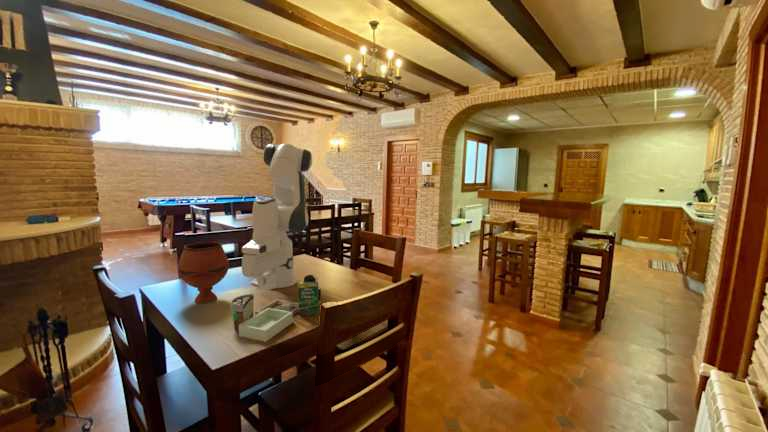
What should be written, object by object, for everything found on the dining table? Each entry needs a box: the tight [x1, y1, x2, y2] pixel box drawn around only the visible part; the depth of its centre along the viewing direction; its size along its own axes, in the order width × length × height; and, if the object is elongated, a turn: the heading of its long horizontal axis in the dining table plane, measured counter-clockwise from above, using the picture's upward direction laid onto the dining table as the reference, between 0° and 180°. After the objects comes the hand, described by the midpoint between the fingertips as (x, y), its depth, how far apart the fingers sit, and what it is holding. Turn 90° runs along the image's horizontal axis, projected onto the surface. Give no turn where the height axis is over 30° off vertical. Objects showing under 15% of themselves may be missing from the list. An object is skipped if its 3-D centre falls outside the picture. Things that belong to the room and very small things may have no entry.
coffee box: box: [297, 281, 320, 316], centre depth 126 cm, size 8×3×13 cm, turn 94°
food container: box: [229, 293, 255, 332], centre depth 115 cm, size 12×6×10 cm, turn 5°
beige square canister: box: [303, 274, 322, 305], centre depth 139 cm, size 7×7×12 cm
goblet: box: [177, 241, 230, 305], centre depth 137 cm, size 19×19×25 cm
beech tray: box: [254, 299, 299, 316], centre depth 129 cm, size 14×14×2 cm
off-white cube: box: [258, 272, 276, 291], centre depth 112 cm, size 4×4×5 cm
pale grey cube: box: [280, 303, 293, 312], centre depth 128 cm, size 4×4×4 cm
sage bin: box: [238, 307, 294, 343], centre depth 113 cm, size 11×16×4 cm
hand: (267, 282), depth 112 cm, fingers closed on off-white cube, 4 cm apart
